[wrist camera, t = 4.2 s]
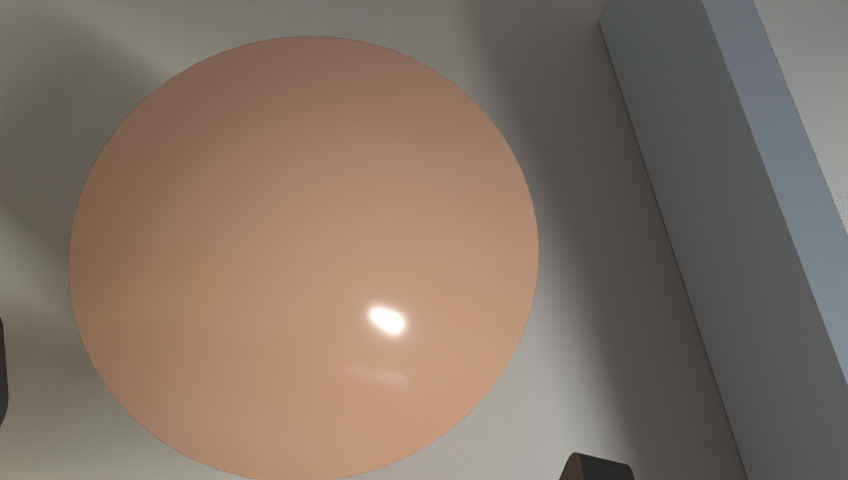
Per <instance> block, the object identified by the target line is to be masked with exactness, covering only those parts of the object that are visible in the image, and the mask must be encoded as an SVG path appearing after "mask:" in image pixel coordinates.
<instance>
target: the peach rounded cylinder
mask: <svg viewBox="0 0 848 480" xmlns="http://www.w3.org/2000/svg"><path fill="white" fill-rule="evenodd" d="M538 260H539V246H538V231H537V222H536V217H535V212H534V207H533V202H532V197H531V195H530V192H529V189H528V186H527V183H526V180H525V177H524V174H523V171H522V169H521V167H520V165H519V163H518V161H517V159H516V157H515V155H514V153H513V151H512V149H511V147H510V146H509V144H508V143H507V141H506V140H505V138H504V137H503V135H502V134H501V132H500V131H499V129H498V128H497V126H496V125H495V124H494V122H493V121H492V120H491V119H490V118H489V117H488V116H487V114H486V113H485V112H484V111H483V110H482V109H481V108H480V106H479V105H478V104H477V103H476V102H475V101H473V100H472V99H471V98H470V97H469V96H468V95H467V94H466V93H465V92H463V91H462V90H461V89H460V88H459V87H458V86H457V85H455V84H454V83H452V82H451V81H449V80H448V79H446V78H445V77H444V76H442V75H441V74H439V73H438V72H436V71H435V70H433V69H431V68H429V67H427V66H426V65H424V64H422V63H420V62H418V61H416V60H414V59H412V58H410V57H408V56H405V55H403V54H400V53H398V52H395V51H392V50H390V49H387V48H384V47H381V46H377V45H373V44H369V43H365V42H361V41H357V40H350V39H343V38H336V37H318V36H299V37H287V38H275V39H270V40H265V41H260V42H255V43H250V44H246V45H243V46H240V47H237V48H234V49H230V50H227V51H224V52H221V53H219V54H217V55H214V56H212V57H210V58H208V59H205V60H203V61H201V62H199V63H197V64H194V65H193V66H191V67H189V68H188V69H186V70H184V71H183V72H181V73H179V74H178V75H176V76H174V77H173V78H171V79H170V80H168V81H167V82H166V83H164V84H163V85H162V86H160V87H159V88H158V89H157V90H155V91H154V92H153V93H151V94H150V95H149V96H147V97H146V98H145V99H144V100H143V101H142V102H141V103H140V104H139V105H138V106H137V107H136V108H135V109H134V110H133V111H132V112H131V113H130V114H129V115H128V116H127V117H126V118H125V120H124V121H123V122H122V123H121V125H120V126H119V127H118V128H117V130H116V131H115V132H114V133H113V135H112V136H111V137H110V138H109V140H108V141H107V143H106V145H105V146H104V148H103V149H102V151H101V153H100V154H99V156H98V158H97V159H96V161H95V163H94V164H93V166H92V169H91V171H90V173H89V175H88V178H87V180H86V182H85V184H84V187H83V189H82V191H81V194H80V198H79V201H78V205H77V208H76V212H75V215H74V218H73V223H72V230H71V237H70V244H69V277H68V280H69V287H70V294H71V302H72V309H73V313H74V316H75V320H76V323H77V326H78V330H79V333H80V337H81V340H82V342H83V344H84V346H85V349H86V351H87V353H88V355H89V357H90V359H91V362H92V364H93V366H94V368H95V370H96V371H97V373H98V374H99V376H100V377H101V379H102V380H103V382H104V383H105V385H106V386H107V388H108V389H109V391H110V392H111V394H112V395H113V396H114V397H115V399H116V400H117V401H118V402H119V403H120V404H121V405H122V406H123V407H124V409H125V410H126V411H127V412H128V413H129V414H130V415H131V416H132V418H133V419H135V420H136V421H137V422H138V423H139V424H141V425H142V426H143V427H144V428H145V429H147V430H148V431H149V432H150V433H151V434H153V435H154V436H155V437H156V438H157V439H159V440H160V441H162V442H164V443H165V444H167V445H169V446H170V447H172V448H174V449H175V450H177V451H178V452H180V453H182V454H183V455H185V456H187V457H189V458H191V459H194V460H196V461H198V462H201V463H203V464H205V465H208V466H210V467H212V468H215V469H217V470H221V471H224V472H228V473H232V474H236V475H239V476H243V477H247V478H252V479H260V480H333V479H340V478H346V477H352V476H355V475H359V474H362V473H365V472H369V471H372V470H376V469H379V468H382V467H385V466H387V465H389V464H392V463H394V462H396V461H398V460H401V459H403V458H405V457H407V456H409V455H412V454H414V453H416V452H417V451H419V450H420V449H422V448H424V447H425V446H427V445H428V444H430V443H432V442H433V441H435V440H437V439H438V438H440V437H441V436H443V435H444V434H445V433H446V432H448V431H449V430H450V429H451V428H452V427H454V426H455V425H456V424H457V423H459V422H460V421H461V420H462V419H463V418H465V417H466V416H467V415H468V414H469V413H470V412H471V411H472V410H473V409H474V407H475V406H476V405H477V404H478V403H479V402H480V401H481V400H482V399H483V398H484V397H485V396H486V394H487V393H488V392H489V391H490V390H491V388H492V387H493V385H494V384H495V382H496V381H497V380H498V378H499V377H500V375H501V374H502V372H503V371H504V370H505V368H506V367H507V365H508V363H509V361H510V359H511V357H512V355H513V353H514V351H515V350H516V348H517V346H518V344H519V342H520V340H521V337H522V335H523V332H524V329H525V326H526V323H527V321H528V318H529V315H530V312H531V308H532V303H533V299H534V294H535V289H536V284H537V274H538Z"/></svg>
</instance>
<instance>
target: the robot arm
mask: <svg viewBox="0 0 848 480" xmlns="http://www.w3.org/2000/svg"><path fill="white" fill-rule="evenodd" d="M7 407H8V383H7V371H6V358H5V346H4V334H3V324H2V320H1V318H0V426H1V424H2V422H3V420H4V417H5V414H6V411H7ZM559 480H634V476H633V472H632V470H631V468H630V467H629V466H628V465H626V464H622V463H618V462H614V461H610V460H606V459H601V458H597V457H593V456H589V455H585V454H581V453H576V452H574V453H572V454H571V455H570V457H569V458H568V460H567V462H566V465H565V467H564V469H563V472H562V474H561V476H560V479H559Z"/></svg>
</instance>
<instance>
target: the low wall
mask: <svg viewBox="0 0 848 480" xmlns="http://www.w3.org/2000/svg"><path fill="white" fill-rule="evenodd" d="M598 21H599V24H600V27H601V30H602V33H603V36H604V39H605V42H606V46H607V49H608V52H609V55H610V58H611V61H612V64H613V67H614V70H615V73H616V76H617V79H618V82H619V85H620V88H621V92H622V95H623V98H624V101H625V104H626V107H627V110H628V113H629V116H630V119H631V122H632V125H633V128H634V131H635V134H636V138H637V141H638V144H639V147H640V150H641V153H642V156H643V159H644V162H645V165H646V168H647V171H648V174H649V177H650V181H651V184H652V187H653V190H654V193H655V196H656V199H657V202H658V205H659V208H660V211H661V214H662V217H663V220H664V223H665V227H666V230H667V233H668V236H669V239H670V242H671V245H672V248H673V251H674V254H675V257H676V260H677V263H678V266H679V269H680V273H681V276H682V279H683V282H684V285H685V288H686V291H687V294H688V297H689V300H690V303H691V306H692V309H693V312H694V316H695V319H696V322H697V325H698V328H699V331H700V334H701V337H702V340H703V343H704V346H705V349H706V352H707V355H708V358H709V362H710V365H711V368H712V371H713V374H714V377H715V380H716V383H717V386H718V389H719V392H720V395H721V398H722V401H723V404H724V408H725V411H726V414H727V417H728V420H729V423H730V426H731V429H732V432H733V435H734V438H735V441H736V444H737V447H738V450H739V454H740V457H741V460H742V463H743V466H744V469H745V472H746V475H747V478H748V480H848V235H847V233H846V230H845V228H844V225H843V223H842V220H841V218H840V215H839V213H838V211H837V208H836V206H835V203H834V201H833V198H832V196H831V193H830V191H829V188H828V186H827V183H826V181H825V178H824V176H823V173H822V171H821V168H820V166H819V163H818V161H817V158H816V156H815V153H814V151H813V148H812V146H811V143H810V141H809V139H808V136H807V134H806V131H805V129H804V126H803V124H802V121H801V119H800V116H799V114H798V111H797V109H796V106H795V104H794V101H793V99H792V96H791V94H790V91H789V89H788V86H787V84H786V81H785V79H784V76H783V74H782V71H781V69H780V67H779V64H778V62H777V59H776V57H775V54H774V52H773V49H772V47H771V44H770V42H769V39H768V37H767V34H766V32H765V29H764V27H763V24H762V22H761V19H760V17H759V14H758V12H757V9H756V7H755V4H754V2H753V0H609V1H608V3H607V5H606V7H605V9H604V10H603V12H602V14H601V16H600V18H599V20H598Z"/></svg>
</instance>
